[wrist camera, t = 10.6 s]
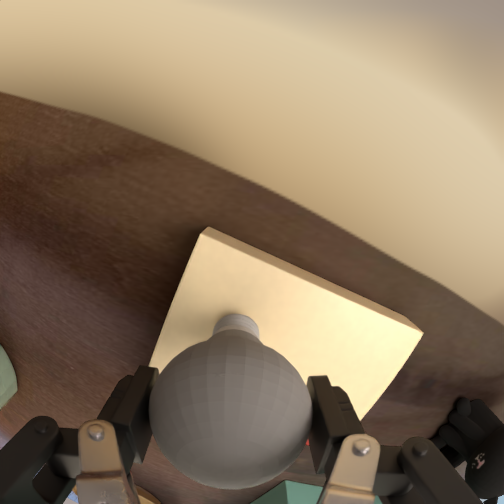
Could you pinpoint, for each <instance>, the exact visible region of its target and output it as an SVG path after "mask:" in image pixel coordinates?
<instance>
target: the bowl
mask: <svg viewBox="0 0 504 504" xmlns="http://www.w3.org/2000/svg"><path fill="white" fill-rule="evenodd" d="M16 392H17V380H16V375H15V371H14V368H13V366H12V364H11V361H10V359H9V357H8V356H7V354H6V352H5V351H4V349H3V347H2V346H1V345H0V411H1V410H2V408H3V407H4V406H5V405H6V404H7V403H8V402H9V401H10V400H11V399H12V398H13V397H14V395H15V394H16Z"/></svg>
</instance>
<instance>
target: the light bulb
mask: <svg viewBox="0 0 504 504" xmlns="http://www.w3.org/2000/svg"><path fill="white" fill-rule="evenodd" d="M148 411H149V420H150V426H151V430H152V433H153V436H154V438H155V440H156V442H157V444H158V446H159V448H160V450H161V452H162V453H163V454H164V456H165V457H166V458H167V459H168V460H169V461H170V462H171V464H172V465H173V466H174V467H175V468H176V469H178V470H179V471H180V472H181V473H183V474H184V475H186V476H187V477H189V478H191V479H192V480H194V481H196V482H198V483H201V484H203V485H207V486H210V487H215V488H220V489H244V488H250V487H254V486H257V485H260V484H263V483H265V482H267V481H269V480H271V479H273V478H275V477H277V476H278V475H279V474H281V473H282V472H283V471H284V470H286V469H287V468H288V467H289V466H290V465H291V464H292V463H293V462H294V461H295V460H296V458H297V457H298V456H299V454H300V453H301V451H302V450H303V448H304V446H305V444H306V442H307V440H308V437H309V434H310V431H311V427H312V419H313V406H312V402H311V398H310V395H309V391H308V388H307V386H306V384H305V382H304V381H303V379H302V377H301V376H300V374H299V372H298V371H297V370H296V369H295V367H294V366H293V365H292V364H291V363H290V362H289V361H288V360H287V359H286V358H285V357H284V356H283V355H281V354H280V353H278V352H277V351H275V350H274V349H272V348H270V347H267V346H265V345H263V343H262V342H261V341H260V337H259V329H258V326H257V324H256V323H255V322H254V321H253V320H252V319H251V318H250V317H248V316H246V315H242V314H230V315H226V316H224V317H222V318H221V319H220V320H219V321H218V322H217V323H216V325H215V326H214V329H213V333H212V337H210V338H209V339H208V340H207V341H203V342H199V343H197V344H195V345H193V346H190V347H188V348H186V349H185V350H184V351H182V352H181V353H179V354H178V355H177V356H175V357H174V358H173V359H172V360H171V361H170V362H169V363H168V364H167V366H166V367H165V368H164V369H163V370H162V372H161V373H160V374H159V376H158V378H157V380H156V382H155V384H154V386H153V389H152V391H151V393H150V400H149V409H148Z"/></svg>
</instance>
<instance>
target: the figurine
mask: <svg viewBox="0 0 504 504" xmlns="http://www.w3.org/2000/svg"><path fill="white" fill-rule="evenodd" d="M449 421H450V423H449V424H448V425H444V426H442V427H441V428H440V430H439V435H438V436H436V437H435V438H433V439H432V440H430V441H431V442H433V443H434V445H435V446H436V447H437V448H438V449H440V448H442V447H443V446H445V445H446V444H448V445H449V447H448V448H447V449H445V450H444V451H442V452H441V453H442V454H443V455H444V457H445V458H446V459H447V460H448V461H449V463H450V464H451V465H452V466H453V467H454V468H456V467H457V466H459V465H460V464H461V463H462V462H464V461H466V462H467V466H466V471H465V482H466V483H467V484H468V485H469V487H470V488H471V489H472V490H473V492H474V493H475V494H476V495H477V496H478V498H480V499H488V500H486V501H484V502H483V503H484V504H497V500H498V497H499V496H502V495H504V424H503V423H502V422H501V421H500V420H499V419H498V417H497V416H496V415H495V414H494V413H493V412H492V411H491V410H490V409H489V408H488V407H487V406H486V405H485V404H484V402H483V401H482V400H480V399H477V400H474V401H472V402H470V401H469V399H467V398H462V399H460V400H459V401H458V403H457V410H454V411H452V412H451V413H450V415H449Z"/></svg>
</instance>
